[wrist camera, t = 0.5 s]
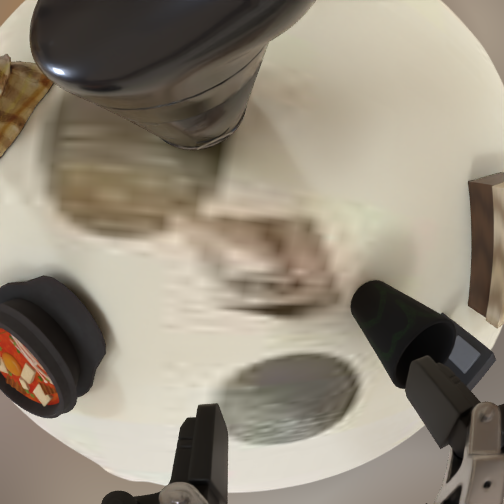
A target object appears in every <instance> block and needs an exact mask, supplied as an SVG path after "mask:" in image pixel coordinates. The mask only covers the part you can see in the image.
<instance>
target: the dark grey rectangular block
mask: <svg viewBox="0 0 504 504" xmlns="http://www.w3.org/2000/svg"><path fill="white" fill-rule="evenodd" d="M441 315H443V316H444V317H446V318H448V319H449V320H451V319H450V318H449V317H447V316H446V315H445V314H443V313H442V314H441ZM451 321H452V322H453V323H454V325H455V328H456V340H455V345H454V348H453V350H452V353H451V354H450V356H449V358H448V360H447V361H446V363H445V364H444V365H445V366H447V367H449V368H450V369H451V370H452V371H453V372H454V373H455V376H457V377H458V378H459V379H460V381H461V382H463V383H464V384H465V385H466V386H467V388H468V389H469V390H470V391H471V390H472V389H473V388H474V387H475V385H476V384H477V383H478V382H479V381H480V380H481V378H482V377H483V376H484V375H485V373H486V372H487V371H488V370H489V368H490V367H491V366H492V365H493V363H494V362H495V361H496V358H495V356H494V353H493V352H492V351H491V350H489V349H488V348H487V347H486V346H485V345H483V344H482V343H481V342H480V341H478V340H477V339H476V338H475V337H473V336H472V335H471V334H470V333H468V332H467V331H466V330H464V329H463V328H462V327H461V326H459V325H458V324H457V323H455V322H454V321H453V320H451Z"/></svg>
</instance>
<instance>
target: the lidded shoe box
mask: <svg viewBox="0 0 504 504" xmlns="http://www.w3.org/2000/svg"><path fill="white" fill-rule="evenodd" d="M468 184H469V193H470V206H471V225H472V259H471V279H470V292H469V301H468V306H469V307H471V308H472V309H474V310H475V311H477V312H478V313H480V314H481V315H483V316H484V317H486V321H487V322H489V323H490V324H492V325H493V326H494V327H496V328H497V329H498V328H499V327H500V326H501V325H503V324H504V173H502V172H500V173H496V174H493V175H489V176H486V177H482V178H479V179H475V180H472V181H468Z"/></svg>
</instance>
